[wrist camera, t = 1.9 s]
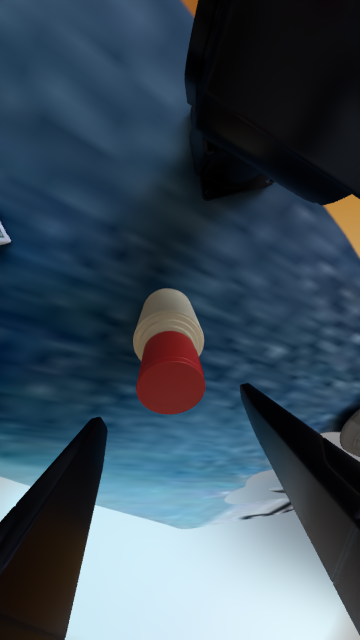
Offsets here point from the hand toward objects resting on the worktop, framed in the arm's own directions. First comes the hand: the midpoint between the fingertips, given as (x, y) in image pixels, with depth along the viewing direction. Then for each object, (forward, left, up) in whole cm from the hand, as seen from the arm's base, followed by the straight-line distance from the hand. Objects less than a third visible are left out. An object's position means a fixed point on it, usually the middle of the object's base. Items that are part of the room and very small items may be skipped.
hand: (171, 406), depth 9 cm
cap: (0, 0, -5) cm, 5 cm away
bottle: (0, 0, -13) cm, 13 cm away
